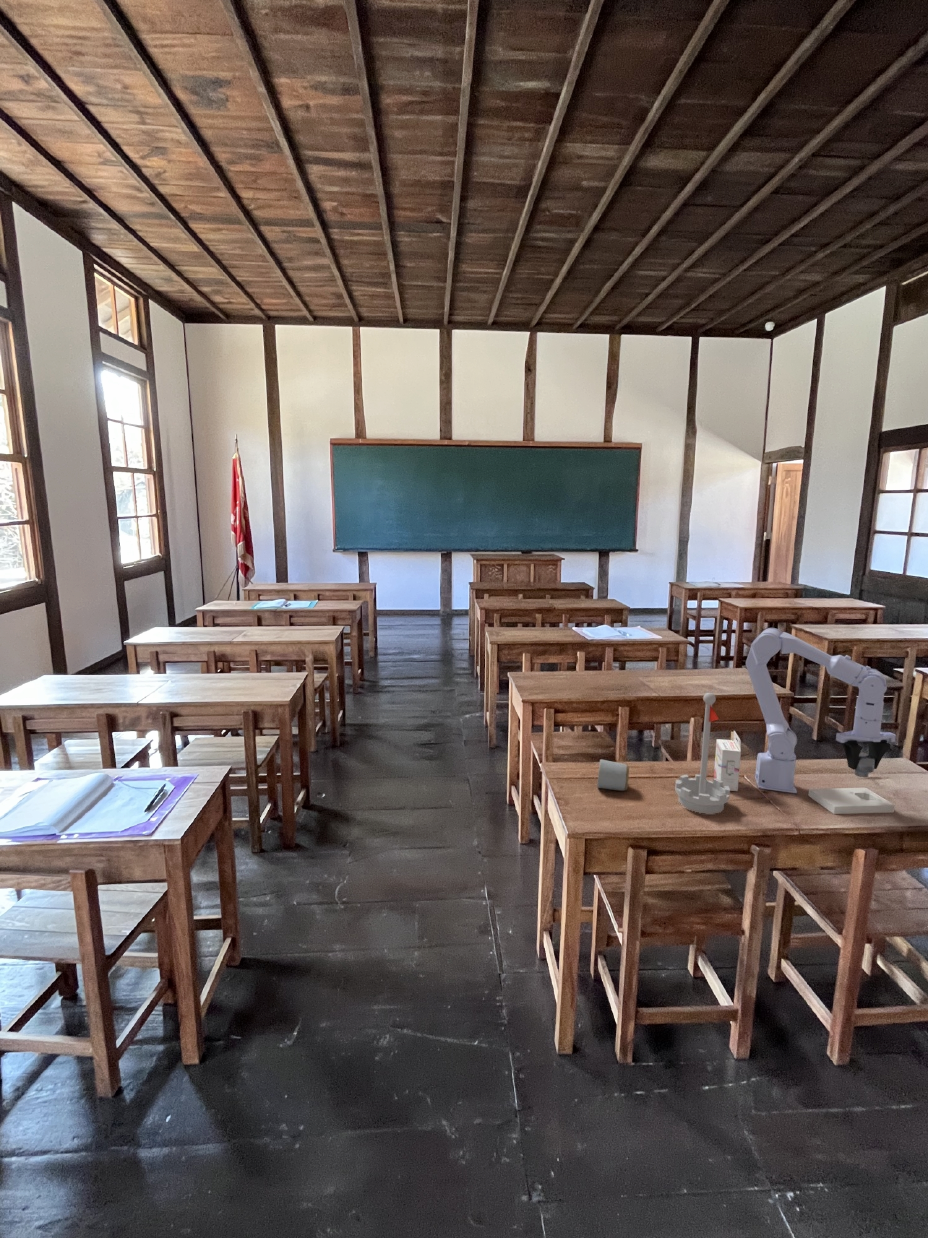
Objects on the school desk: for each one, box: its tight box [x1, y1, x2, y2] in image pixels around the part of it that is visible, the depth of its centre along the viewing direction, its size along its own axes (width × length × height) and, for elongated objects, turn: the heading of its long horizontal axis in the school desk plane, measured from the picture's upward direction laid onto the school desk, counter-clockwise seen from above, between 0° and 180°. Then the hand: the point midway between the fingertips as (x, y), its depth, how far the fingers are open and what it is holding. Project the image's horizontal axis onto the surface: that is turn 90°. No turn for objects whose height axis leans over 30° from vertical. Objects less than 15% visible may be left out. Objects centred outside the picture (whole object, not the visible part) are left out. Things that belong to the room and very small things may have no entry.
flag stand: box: [674, 692, 730, 815], centre depth 152 cm, size 13×13×30 cm
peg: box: [854, 751, 875, 779], centre depth 153 cm, size 5×5×5 cm
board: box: [807, 787, 896, 815], centre depth 155 cm, size 16×10×2 cm, turn 94°
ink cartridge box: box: [713, 730, 742, 792], centre depth 165 cm, size 9×5×15 cm, turn 168°
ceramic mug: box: [596, 759, 630, 792], centre depth 164 cm, size 11×8×8 cm
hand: (862, 767), depth 153 cm, fingers closed on peg, 5 cm apart
